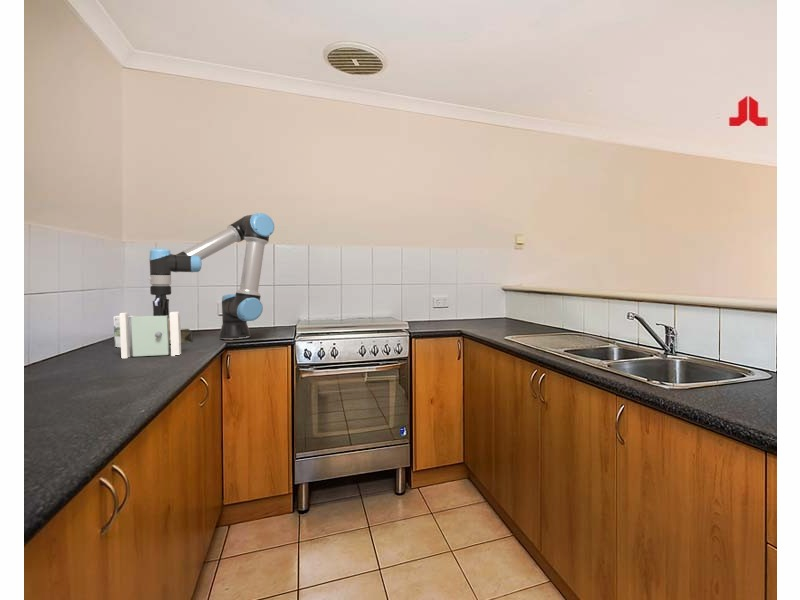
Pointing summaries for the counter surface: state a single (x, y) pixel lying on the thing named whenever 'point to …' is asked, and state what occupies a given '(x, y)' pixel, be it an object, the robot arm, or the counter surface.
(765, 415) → the counter surface
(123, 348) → the white piece
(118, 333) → the syrup box
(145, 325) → the door
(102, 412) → the counter surface
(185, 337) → the beverage carton
